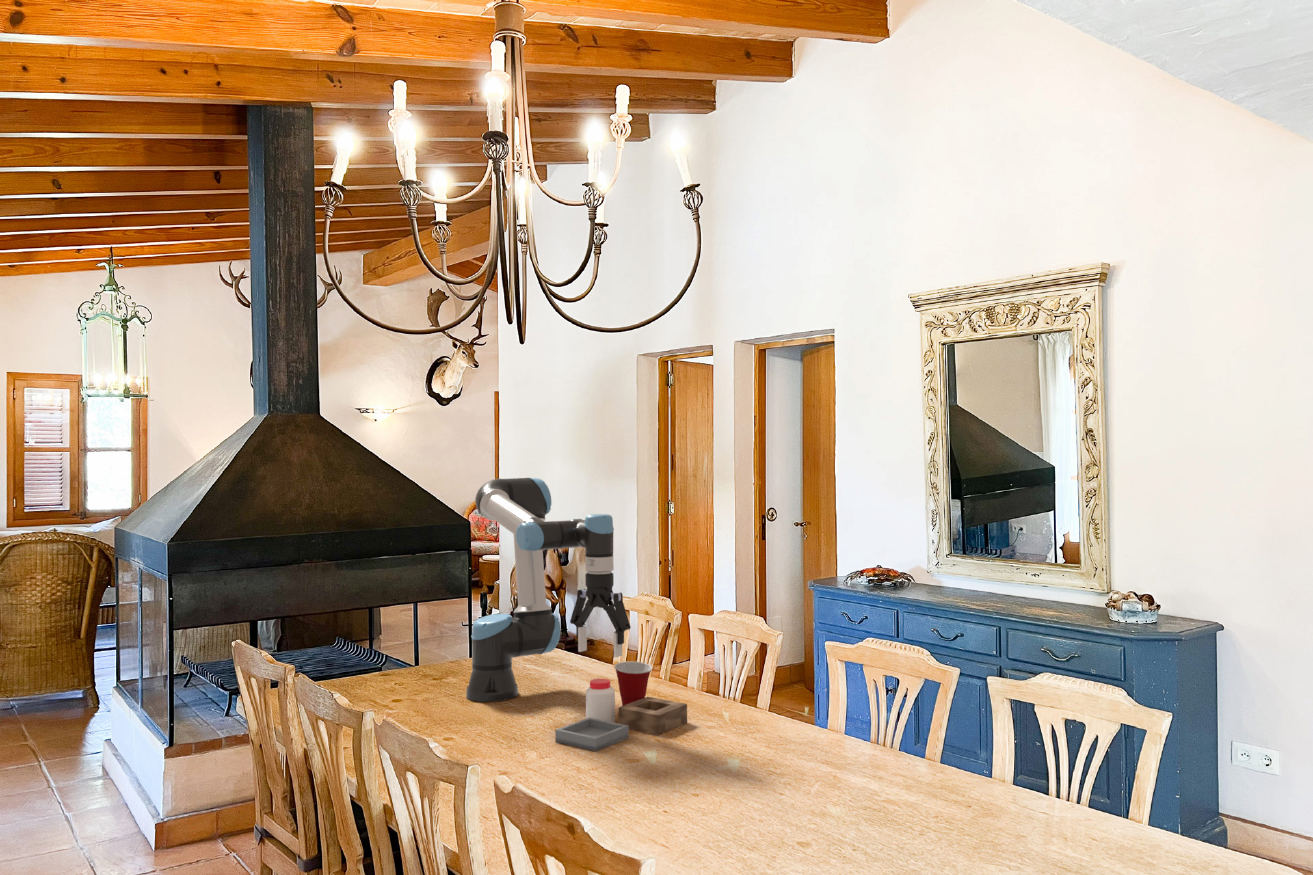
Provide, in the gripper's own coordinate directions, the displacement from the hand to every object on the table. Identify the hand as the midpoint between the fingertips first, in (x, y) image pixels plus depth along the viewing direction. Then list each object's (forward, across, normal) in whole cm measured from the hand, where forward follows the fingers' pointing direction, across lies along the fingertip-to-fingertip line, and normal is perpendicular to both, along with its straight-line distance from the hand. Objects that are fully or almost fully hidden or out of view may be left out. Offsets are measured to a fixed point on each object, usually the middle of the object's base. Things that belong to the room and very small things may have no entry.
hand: (600, 653), depth 247 cm
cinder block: (+18, +13, +6) cm, 23 cm away
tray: (+18, +8, -13) cm, 24 cm away
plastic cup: (+18, -1, +16) cm, 24 cm away
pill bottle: (+18, 0, 0) cm, 18 cm away
